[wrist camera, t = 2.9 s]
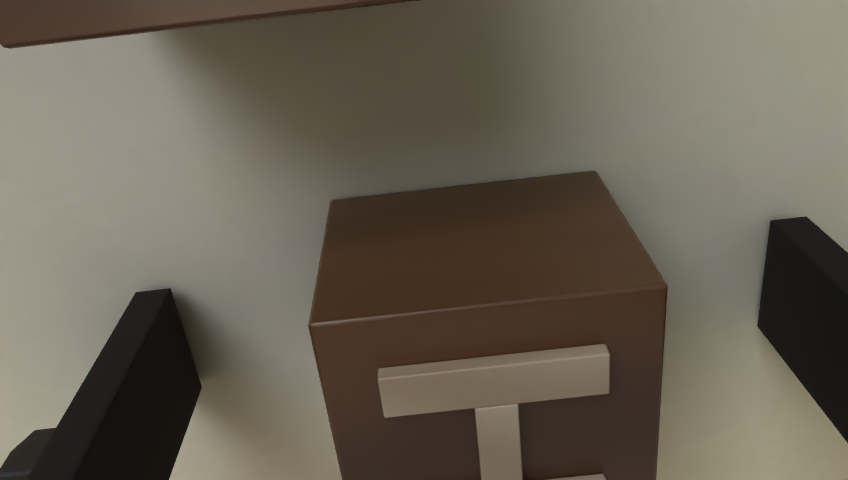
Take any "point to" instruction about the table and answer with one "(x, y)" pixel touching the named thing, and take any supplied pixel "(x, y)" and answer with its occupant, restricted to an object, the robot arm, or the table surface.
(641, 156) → the table surface
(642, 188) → the table surface
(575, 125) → the table surface
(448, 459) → the tile
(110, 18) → the tile
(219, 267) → the table surface
